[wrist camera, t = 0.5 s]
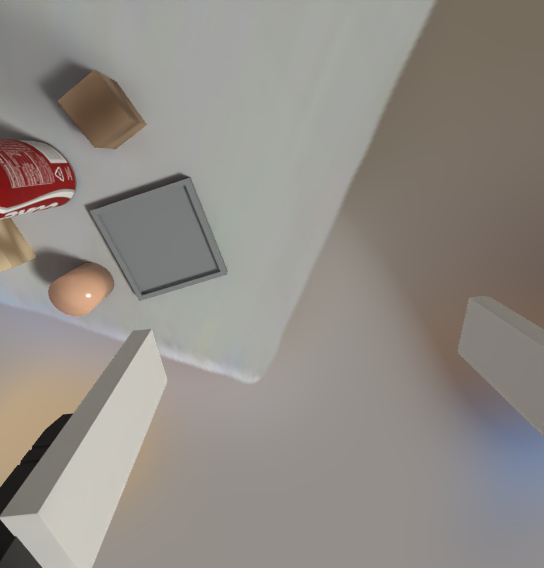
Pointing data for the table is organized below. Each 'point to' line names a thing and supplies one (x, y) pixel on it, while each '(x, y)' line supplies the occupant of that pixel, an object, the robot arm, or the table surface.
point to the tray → (161, 239)
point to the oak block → (13, 246)
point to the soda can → (33, 177)
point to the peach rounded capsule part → (81, 289)
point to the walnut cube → (102, 111)
